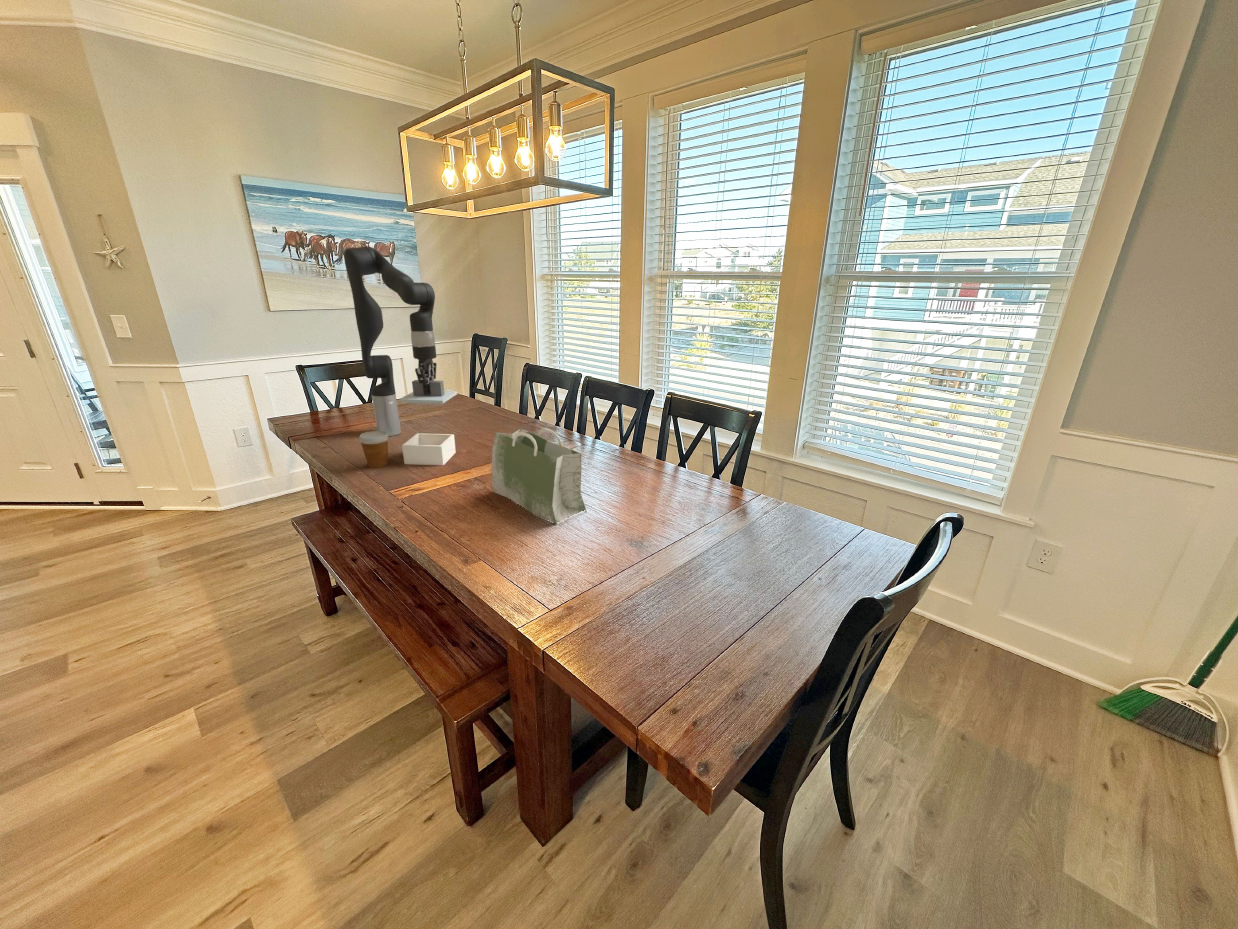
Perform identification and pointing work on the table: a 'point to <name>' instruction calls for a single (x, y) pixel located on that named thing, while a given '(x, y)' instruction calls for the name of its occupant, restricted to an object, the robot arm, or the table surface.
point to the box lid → (435, 395)
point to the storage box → (429, 449)
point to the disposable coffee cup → (375, 448)
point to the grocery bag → (537, 474)
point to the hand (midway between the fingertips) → (429, 393)
